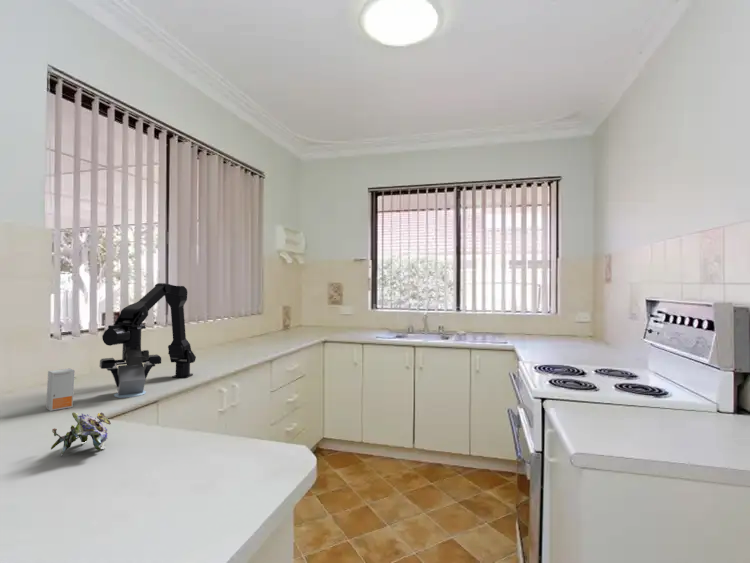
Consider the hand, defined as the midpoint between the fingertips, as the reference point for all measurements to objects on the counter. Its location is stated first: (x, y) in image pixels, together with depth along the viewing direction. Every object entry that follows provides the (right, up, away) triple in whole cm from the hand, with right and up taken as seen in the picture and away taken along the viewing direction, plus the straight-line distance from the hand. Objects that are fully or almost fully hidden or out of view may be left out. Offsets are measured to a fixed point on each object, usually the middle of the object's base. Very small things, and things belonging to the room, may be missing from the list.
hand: (130, 385), depth 147 cm
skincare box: (-11, -3, -18) cm, 22 cm away
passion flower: (+19, -3, -52) cm, 55 cm away
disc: (0, -3, 0) cm, 3 cm away
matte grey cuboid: (-1, -1, +2) cm, 2 cm away
